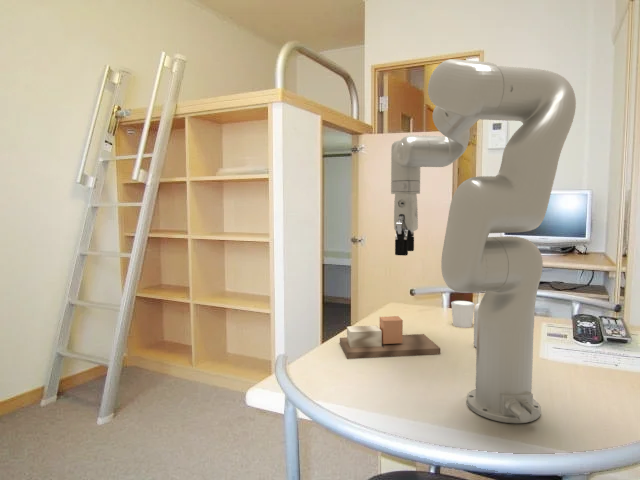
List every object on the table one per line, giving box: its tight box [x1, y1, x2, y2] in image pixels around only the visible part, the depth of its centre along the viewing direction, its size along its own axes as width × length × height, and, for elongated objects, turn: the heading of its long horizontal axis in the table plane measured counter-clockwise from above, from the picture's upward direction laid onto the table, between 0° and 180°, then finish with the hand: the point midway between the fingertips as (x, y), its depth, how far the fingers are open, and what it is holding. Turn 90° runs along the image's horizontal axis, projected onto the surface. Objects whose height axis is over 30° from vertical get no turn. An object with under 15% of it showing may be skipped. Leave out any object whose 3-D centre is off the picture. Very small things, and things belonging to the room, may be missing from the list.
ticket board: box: [339, 324, 441, 360], centre depth 115 cm, size 24×12×6 cm, turn 96°
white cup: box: [450, 300, 476, 329], centre depth 136 cm, size 7×7×7 cm
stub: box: [379, 315, 404, 344], centre depth 115 cm, size 5×4×6 cm
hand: (404, 252), depth 118 cm, fingers open, 9 cm apart
